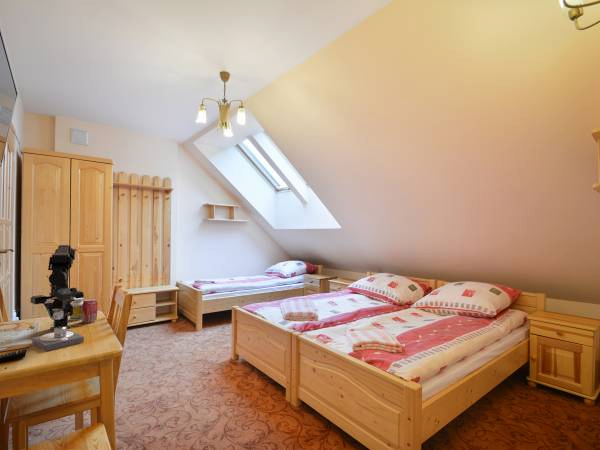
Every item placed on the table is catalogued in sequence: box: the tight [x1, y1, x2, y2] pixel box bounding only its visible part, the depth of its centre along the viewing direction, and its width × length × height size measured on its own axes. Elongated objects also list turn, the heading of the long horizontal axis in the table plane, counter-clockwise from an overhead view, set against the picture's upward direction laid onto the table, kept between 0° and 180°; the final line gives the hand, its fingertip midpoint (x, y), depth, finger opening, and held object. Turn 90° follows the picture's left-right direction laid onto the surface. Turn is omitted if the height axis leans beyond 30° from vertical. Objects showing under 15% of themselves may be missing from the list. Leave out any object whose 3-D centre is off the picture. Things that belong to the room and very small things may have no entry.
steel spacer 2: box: [53, 326, 68, 339], centre depth 137 cm, size 4×4×4 cm
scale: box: [31, 329, 85, 352], centre depth 138 cm, size 15×14×3 cm
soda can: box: [81, 298, 99, 324], centre depth 171 cm, size 7×7×12 cm
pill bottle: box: [69, 297, 84, 321], centre depth 175 cm, size 6×6×12 cm
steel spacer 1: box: [50, 308, 64, 321], centre depth 142 cm, size 4×4×4 cm
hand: (57, 316), depth 142 cm, fingers closed on steel spacer 1, 4 cm apart
